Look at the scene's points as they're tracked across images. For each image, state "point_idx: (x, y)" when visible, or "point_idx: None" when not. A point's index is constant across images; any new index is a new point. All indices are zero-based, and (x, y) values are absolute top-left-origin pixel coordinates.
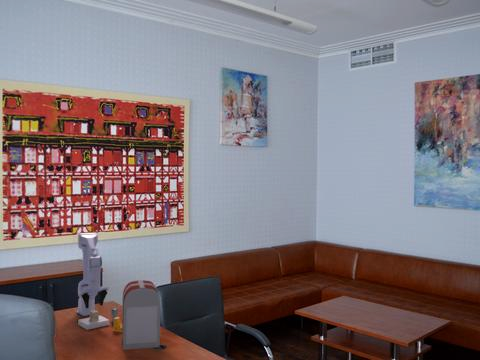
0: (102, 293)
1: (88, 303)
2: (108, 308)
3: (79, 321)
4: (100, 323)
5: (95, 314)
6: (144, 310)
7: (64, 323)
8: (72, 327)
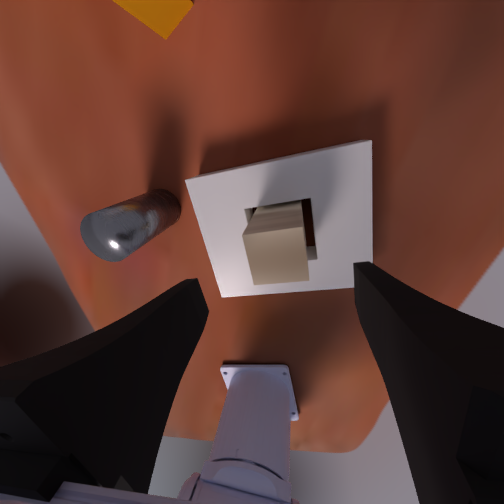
0: (79, 405)
1: (379, 286)
2: None
3: None
4: (254, 164)
5: (275, 224)
6: None
7: None
8: (419, 240)
